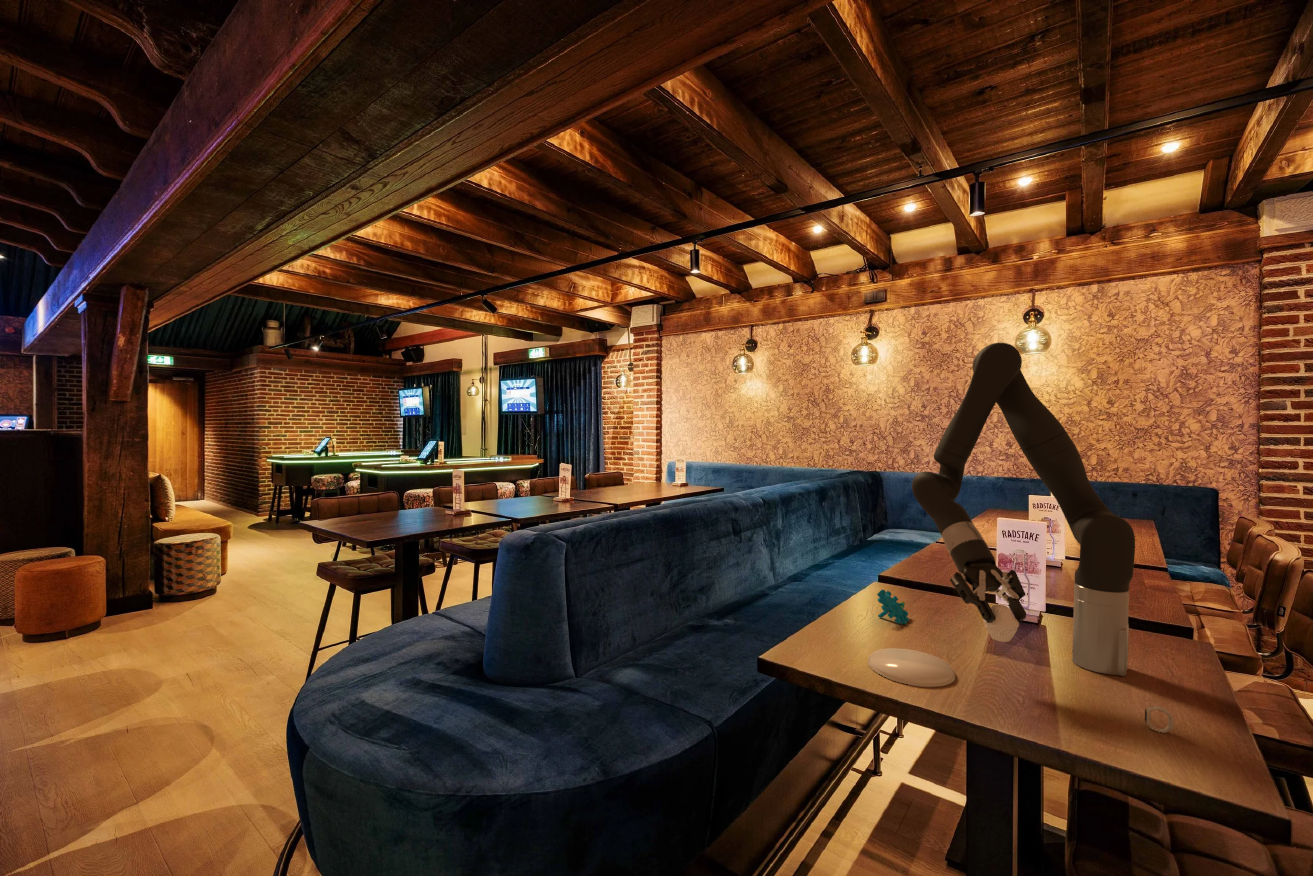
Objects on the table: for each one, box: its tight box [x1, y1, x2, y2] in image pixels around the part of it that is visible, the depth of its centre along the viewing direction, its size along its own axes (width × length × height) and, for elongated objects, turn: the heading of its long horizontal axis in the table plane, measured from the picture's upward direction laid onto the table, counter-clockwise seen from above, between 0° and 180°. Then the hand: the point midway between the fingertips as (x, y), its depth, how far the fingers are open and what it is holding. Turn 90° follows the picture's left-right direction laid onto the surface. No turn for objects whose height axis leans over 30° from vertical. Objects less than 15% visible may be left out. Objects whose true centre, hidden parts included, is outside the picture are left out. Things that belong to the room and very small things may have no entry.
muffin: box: [982, 604, 1020, 643], centre depth 114 cm, size 6×6×7 cm
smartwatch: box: [1144, 705, 1175, 734], centre depth 96 cm, size 4×2×4 cm, turn 54°
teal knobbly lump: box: [876, 588, 910, 625], centre depth 150 cm, size 11×6×10 cm
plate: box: [867, 647, 956, 688], centre depth 119 cm, size 17×17×1 cm
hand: (1007, 620), depth 112 cm, fingers closed on muffin, 6 cm apart
